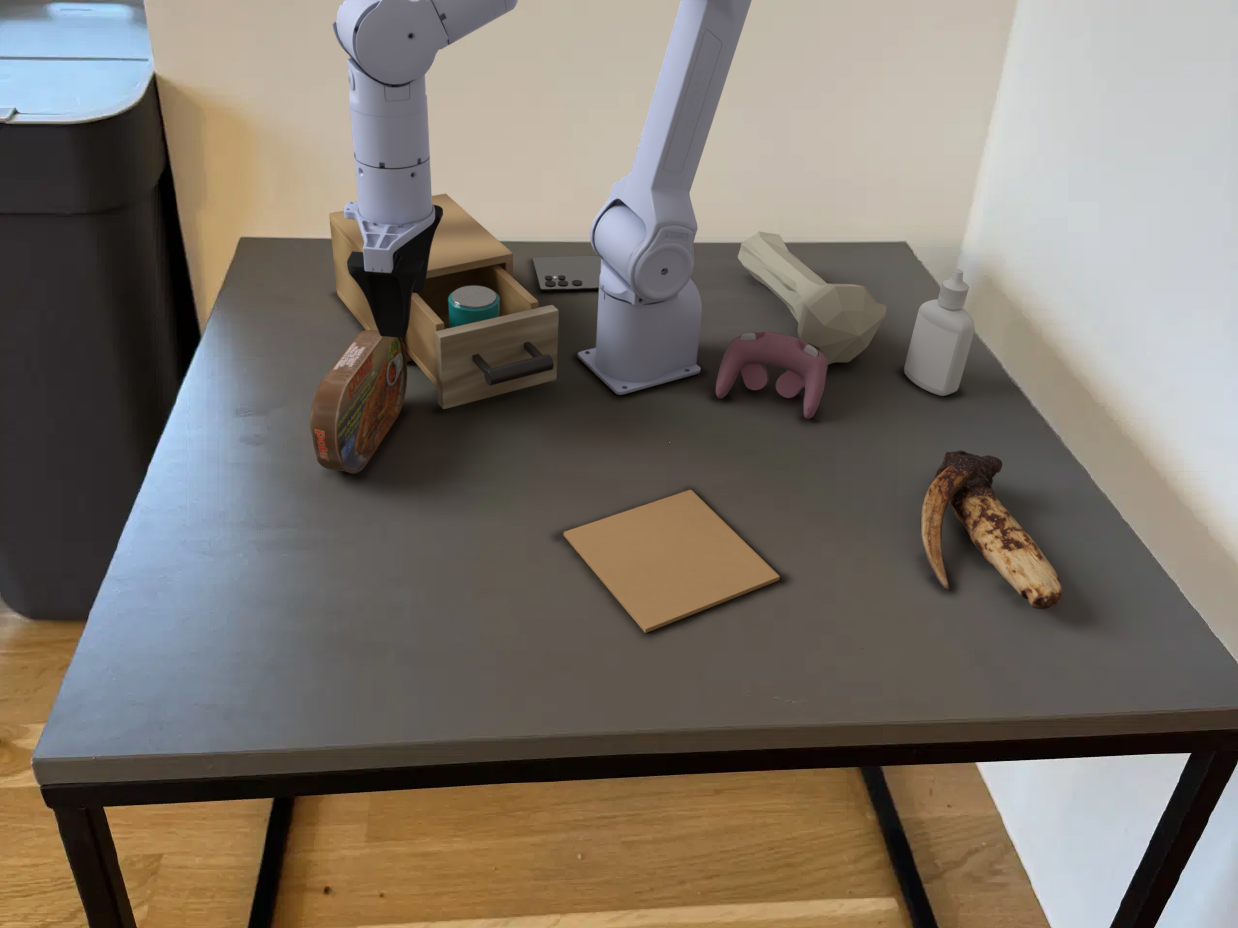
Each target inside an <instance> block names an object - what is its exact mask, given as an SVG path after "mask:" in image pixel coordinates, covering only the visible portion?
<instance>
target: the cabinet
mask: <svg viewBox="0 0 1238 928" xmlns="http://www.w3.org/2000/svg"><path fill="white" fill-rule="evenodd" d="M432 203H433V205H438V206H440V207H442V208H443V216H442V218H441V221H440V223H439V225H438V226H437V229H436V231H435V234H434V237H433V241H432V245H431V250H430V256H429V262H428V270H427V276H426V279H427V278H432V277H436V276H441V275H446V274H451V273H456V272H461V271H466V270H471V269H476V268H480V267H485V266H490V265H495V264H498V265H500V266H501V267H502V268H503V269H504V270H505V271H506V272H507V273H508V274H509V275H510V276H511V277H512V278H514V252H512V251H511V250H510V249H509V248H508V247H506V246H505V245H504V244H503V243H502V242H501V241H500V240H499V239H497V238H496V237H495V236H494V235H493V234H492V233H491V232H489V231H488V230H487V228H485V227H484V226H483V225H482V224H481V223H480V222H479V221H478V220H476V219H475V218H474V217H473V216H472V215H470V214H469V212H467V211H466V210H465V209H464V208H463V207H462V206H461V205H459V204H458V203H457V202H456V201H455V200H454V199H453V198H451V196H449V195H448V194H447V192H446V193H440V194H435V195H432ZM328 219H329V228H330V238H331V246H332V248H331V249H332V257H333V266H334V276H335V277H334V278H335V283H336V284H335V287H336V295H337V296H338V297H339V299H340V300H341V301H342V303H344V305H345V306H346V307H347V309H348V310H349V311H350V312H351V314H352V315H353V316H354V317H355V318H356V320H357V321H358V322H359V323H360V325H361V326H362V328H363V329H364V330H378V329H377V327H376V324H375V321H374V318H373V315H372V312H371V309H370V307H369V304H368V302H367V299H366V297H365V295H364V293H363V292H362V290H361V288H360V287H359V285H358V284H357V282H356V281H355V280H354V279H353V278H352V276H351V275H350V274H349V271H348V267H347V260H348V258H349V256H350V254H351V252H352V251H354V252H363V247H364V244H365V243H364V240H363V237H362V234H361V231H360V227H359V224H358V221H357V220H354V219H346V218H345V217H344V210H339V211H334V212H329V213H328ZM406 357H407V363H408V362H412V361H413V362H414V360H413V359H412V358H411V356H410V355H409V354H408V353H407V352H406Z"/></svg>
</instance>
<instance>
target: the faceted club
mask: <svg viewBox="0 0 1238 928" xmlns="http://www.w3.org/2000/svg"><path fill="white" fill-rule="evenodd" d="M737 259H738V260H739V261H740V263H741V265H742V266H743V268H744V269H745V270H746V271H747V272H748V273H749V274H750V276H752V278H754V279H755V280H757V281H758V282H759V283H760V284H762V285H764V286H765V287H767V288H768V289H769V290H770V291H771V293H773V294H774V295H775V296H776V297H777V298H778V299H779V300H781V301H782V302H783V303H784V304H785V306H786V307H787V309H788V310H789V311H790V313H791V314H792V315H793V317H794V318H795V320H796V321H797V323H798V326H797V335H798V337H799V338H798V339H800V340H802V341H804V342H806V343H808V344H809V345H811V346H813V347H814V348H815V349H817V350H819V351H820V352H821V353H822V354H823V355H824V356H825V358H826V360H827V364H828V366H829V365H831V364H834V363H850V362H851V361H852V360H853V359H854V358H856V357H857V356H858V355H860V354H861V353H862V352H863V351H865V350H866V349H867V348H868V347H869V345H870V343H871V342H872V340H873V338H874V336H875V335H876V333H877V331H878V329H879V328H880V326H881V324H882V323H883V321H884V319H885V317H886V315H887V307H888V306H887V305H885V304H882V303H879V302H877V301H876V300H875V299H874V297H873V296H872V295H871V293H870V291H869V290H868V288H867V287H866V286H864V285H859V284H855V283H827V282H826V281H825V280H824V279H823V278H822V277H820V276H819V275H818V274H817V273H815V272H814V271H813V270H812V269H810V268H809V267H808V266H807V265H805V263H803V262H802V261H801V259H800V258H798V257H797V256H796V255H795V254H793V253H792V252H791V251H790V250H789V248H788V247H787V245H786V243H785V241H784V240H783V238H782V236H781V234H779V233H773V232H765V231H757V232H756V233H755V234H753V235H752V236H750V237H749V238H747V239H746V240H744V241H743V242H742V243H740V248H739V252H738V255H737Z"/></svg>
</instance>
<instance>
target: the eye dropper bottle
mask: <svg viewBox="0 0 1238 928" xmlns="http://www.w3.org/2000/svg"><path fill="white" fill-rule="evenodd" d="M940 285H941V286H940V289H939V294H938V298H937V299H930V300H927V301H925V302H924V303H922V304H921V305H920V306H919V307H918V311H917V314H916V318H915V321H914V326H913V330H912V334H911V338H910V341H909V346H908V350H907V354H906V357H905V362H904V366H903V373H904V374H905V376H906V377H907V378H908V379H909V380H910V381H911V382H912V383H913V384H914V385H916V386H917V387H919V388H921V389H922V390H923V391H924V390H925V391H926V392H929V393H931V394H933V395H937V396H939V397H940V396H941V397H944V396H950V395H951V394H954V393H957V391H958V390H959V388H960V385H961V381H962V378H963V374H964V370H965V367H966V364H967V360H968V356H969V352H970V349H971V345H972V342H973V338H974V334H975V331H976V324H975V321H974V318H973V317H972V316H971V314H970V313H969V312H968V311H967V309H965V308H964V307H965V303H966V299H967V296H968V292H969V288H970V287H969V284H968V283H967V282H965V281H964V271H963V270H962V269H959V268H958V269H955V270H954V272H953V274H952V277H950V278H947V279H944V280H943V281H941V284H940Z"/></svg>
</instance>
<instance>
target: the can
mask: <svg viewBox="0 0 1238 928" xmlns="http://www.w3.org/2000/svg"><path fill="white" fill-rule="evenodd" d="M448 305H449V328H452V327H457V326H461V325H466V324H470V323H474V322H479V321H483V320H487V319H492V318H496V317H500V298H499V296H498V294H497V293H496V292H494V291H493V290H491V289H489V288H487V287H483V286H465V287H461V288H459V289H457V290H455V291H454V292H452V293H451V294H450V295H449V298H448Z"/></svg>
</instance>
